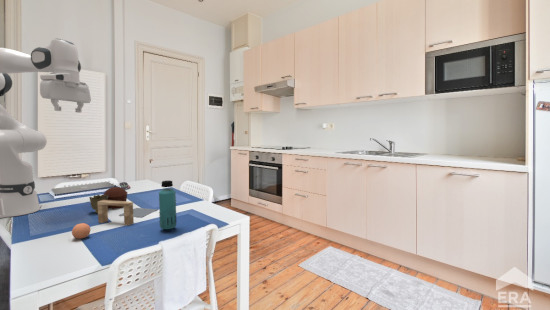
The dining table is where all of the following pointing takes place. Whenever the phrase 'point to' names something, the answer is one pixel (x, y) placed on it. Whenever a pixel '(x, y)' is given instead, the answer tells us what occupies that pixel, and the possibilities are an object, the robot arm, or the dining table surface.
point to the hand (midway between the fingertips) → (68, 111)
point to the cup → (95, 199)
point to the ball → (81, 231)
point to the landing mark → (141, 212)
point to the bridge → (104, 209)
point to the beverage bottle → (167, 206)
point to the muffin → (116, 196)
